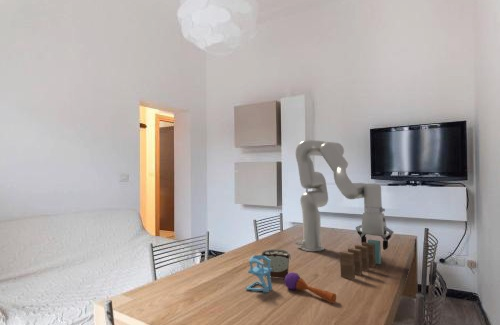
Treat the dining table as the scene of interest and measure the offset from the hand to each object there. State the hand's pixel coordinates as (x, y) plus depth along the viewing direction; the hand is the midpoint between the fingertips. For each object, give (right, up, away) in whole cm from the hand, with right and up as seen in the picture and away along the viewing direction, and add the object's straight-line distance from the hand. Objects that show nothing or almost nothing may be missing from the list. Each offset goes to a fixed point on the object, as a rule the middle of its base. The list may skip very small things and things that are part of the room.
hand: (374, 247), depth 136 cm
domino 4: (-4, -7, -5) cm, 9 cm away
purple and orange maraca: (-37, -7, -33) cm, 50 cm away
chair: (-54, -8, -27) cm, 61 cm away
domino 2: (-14, -7, -14) cm, 21 cm away
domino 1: (-18, -7, -18) cm, 27 cm away
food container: (-46, -8, -14) cm, 49 cm away
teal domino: (0, -7, 0) cm, 7 cm away
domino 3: (-9, -7, -9) cm, 15 cm away
